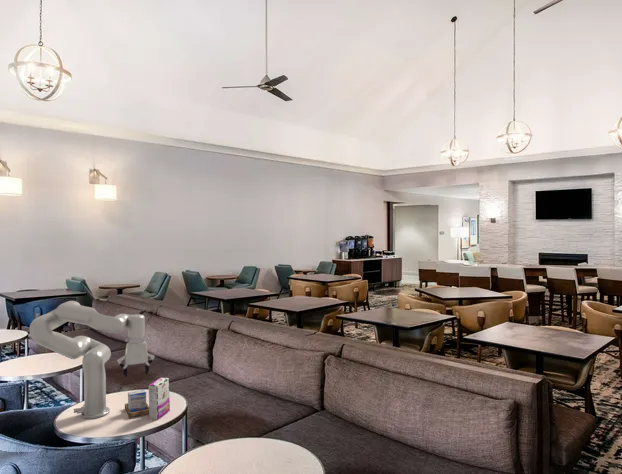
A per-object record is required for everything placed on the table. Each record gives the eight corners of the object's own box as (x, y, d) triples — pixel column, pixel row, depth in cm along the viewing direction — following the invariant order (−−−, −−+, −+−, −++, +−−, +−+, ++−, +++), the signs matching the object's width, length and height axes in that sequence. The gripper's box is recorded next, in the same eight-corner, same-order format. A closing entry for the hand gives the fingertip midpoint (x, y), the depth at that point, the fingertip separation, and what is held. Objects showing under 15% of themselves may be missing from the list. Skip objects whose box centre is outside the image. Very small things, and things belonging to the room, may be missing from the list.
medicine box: (129, 412, 219) (129, 395, 219) (128, 409, 223) (127, 392, 223) (146, 409, 223) (146, 391, 223) (144, 406, 227) (144, 389, 227)
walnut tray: (129, 418, 215) (129, 413, 215) (124, 408, 227) (124, 403, 227) (150, 414, 220) (150, 409, 219) (144, 404, 232) (144, 400, 231)
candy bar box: (160, 410, 225) (160, 377, 224) (170, 410, 224) (169, 377, 223) (148, 419, 214) (147, 384, 214) (158, 420, 213) (157, 385, 213)
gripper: (118, 343, 215) (118, 379, 215) (156, 339, 224) (155, 374, 224) (116, 340, 221) (116, 375, 222) (153, 336, 230) (152, 370, 230)
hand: (136, 374), depth 223 cm, fingers open, 9 cm apart
